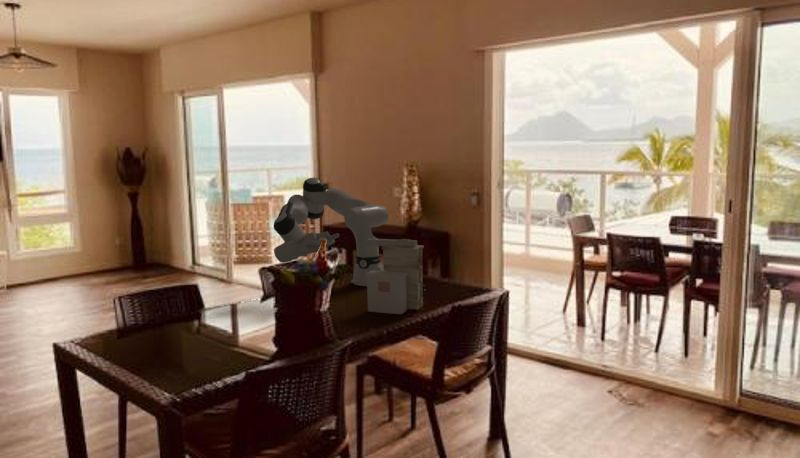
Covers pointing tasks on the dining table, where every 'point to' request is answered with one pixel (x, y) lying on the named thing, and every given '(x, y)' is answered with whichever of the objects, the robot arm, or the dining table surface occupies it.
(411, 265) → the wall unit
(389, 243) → the bar
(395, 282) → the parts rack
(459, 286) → the dining table surface
